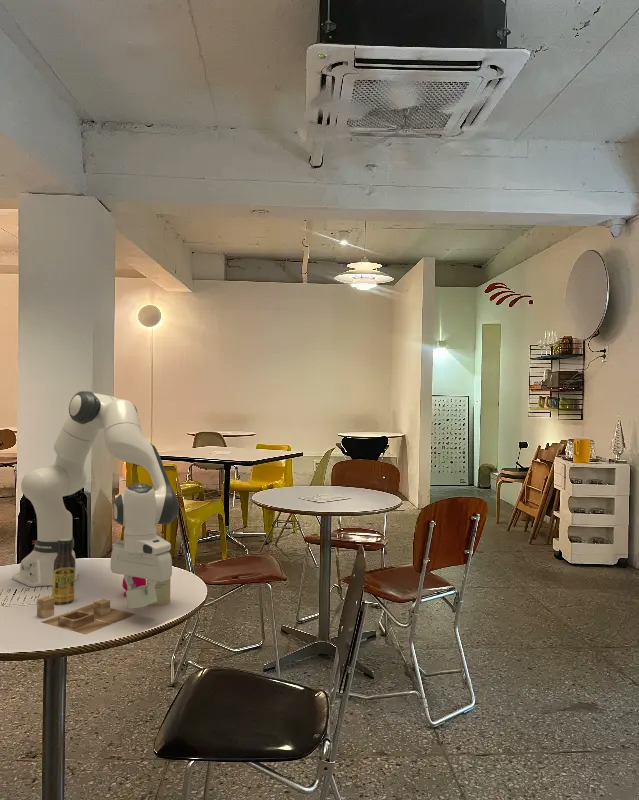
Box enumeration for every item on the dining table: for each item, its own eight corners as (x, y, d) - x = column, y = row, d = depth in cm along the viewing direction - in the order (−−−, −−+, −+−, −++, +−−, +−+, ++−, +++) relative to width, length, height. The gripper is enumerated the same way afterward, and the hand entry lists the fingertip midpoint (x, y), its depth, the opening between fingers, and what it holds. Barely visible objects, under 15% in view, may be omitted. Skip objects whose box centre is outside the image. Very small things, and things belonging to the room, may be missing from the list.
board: (40, 625, 181) (40, 609, 181) (92, 607, 197) (92, 592, 197) (85, 638, 172) (85, 620, 172) (136, 617, 188) (136, 601, 188)
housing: (128, 608, 182) (125, 591, 182) (144, 602, 187) (141, 585, 187) (141, 607, 179) (138, 589, 180) (157, 601, 185) (154, 583, 185)
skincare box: (150, 609, 195) (150, 568, 195) (146, 605, 199) (146, 565, 199) (171, 606, 198) (171, 565, 198) (166, 602, 202) (166, 562, 202)
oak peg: (36, 620, 186) (36, 598, 186) (46, 616, 188) (46, 595, 188) (44, 622, 184) (44, 600, 184) (54, 618, 187) (54, 597, 187)
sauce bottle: (53, 609, 195) (53, 542, 194) (50, 603, 200) (50, 538, 200) (76, 606, 198) (76, 540, 197) (73, 600, 203) (73, 536, 203)
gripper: (104, 541, 186) (105, 590, 186) (159, 549, 176) (159, 601, 176) (121, 536, 191) (121, 584, 191) (175, 544, 181) (175, 594, 181)
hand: (140, 592), depth 183 cm, fingers closed on housing, 5 cm apart
